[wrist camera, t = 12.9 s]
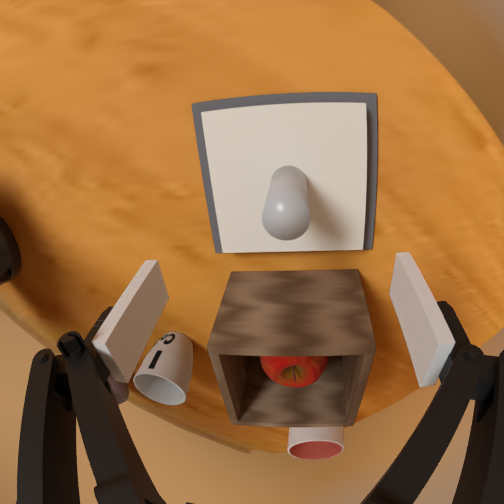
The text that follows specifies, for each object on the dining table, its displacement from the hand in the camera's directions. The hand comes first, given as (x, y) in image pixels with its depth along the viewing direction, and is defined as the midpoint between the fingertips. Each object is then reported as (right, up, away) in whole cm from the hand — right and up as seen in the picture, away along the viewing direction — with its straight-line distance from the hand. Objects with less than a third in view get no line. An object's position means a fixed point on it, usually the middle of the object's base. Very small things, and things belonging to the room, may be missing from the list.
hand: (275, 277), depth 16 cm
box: (+5, -8, +26) cm, 27 cm away
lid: (+3, +9, +16) cm, 18 cm away
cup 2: (+11, -28, +37) cm, 48 cm away
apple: (+5, -8, +26) cm, 28 cm away
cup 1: (-13, -13, +32) cm, 37 cm away
